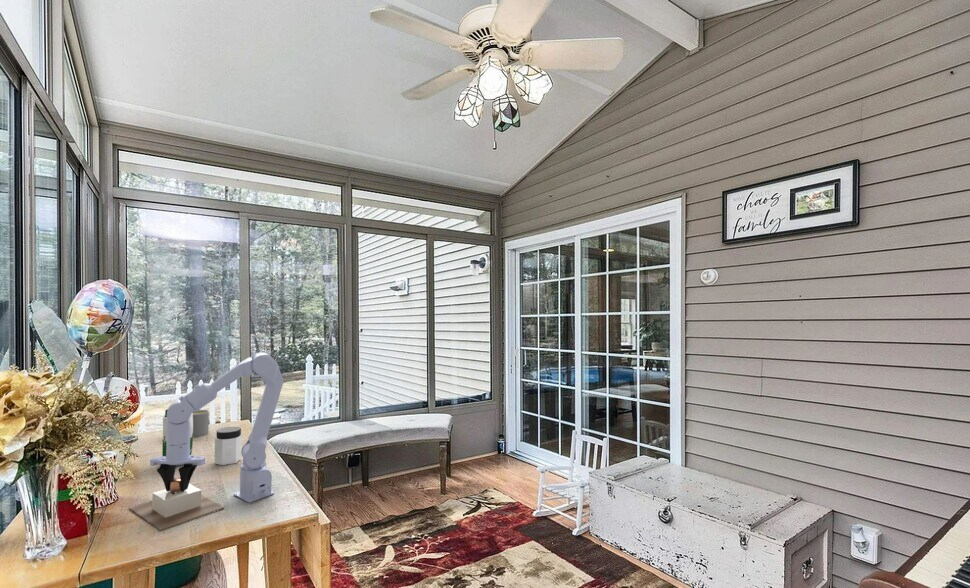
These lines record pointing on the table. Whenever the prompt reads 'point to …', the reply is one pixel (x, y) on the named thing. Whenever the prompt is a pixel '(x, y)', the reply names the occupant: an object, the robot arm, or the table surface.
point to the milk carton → (166, 433)
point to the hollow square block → (176, 501)
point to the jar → (228, 445)
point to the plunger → (175, 485)
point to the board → (177, 519)
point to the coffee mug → (200, 423)
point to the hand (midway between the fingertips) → (177, 489)
